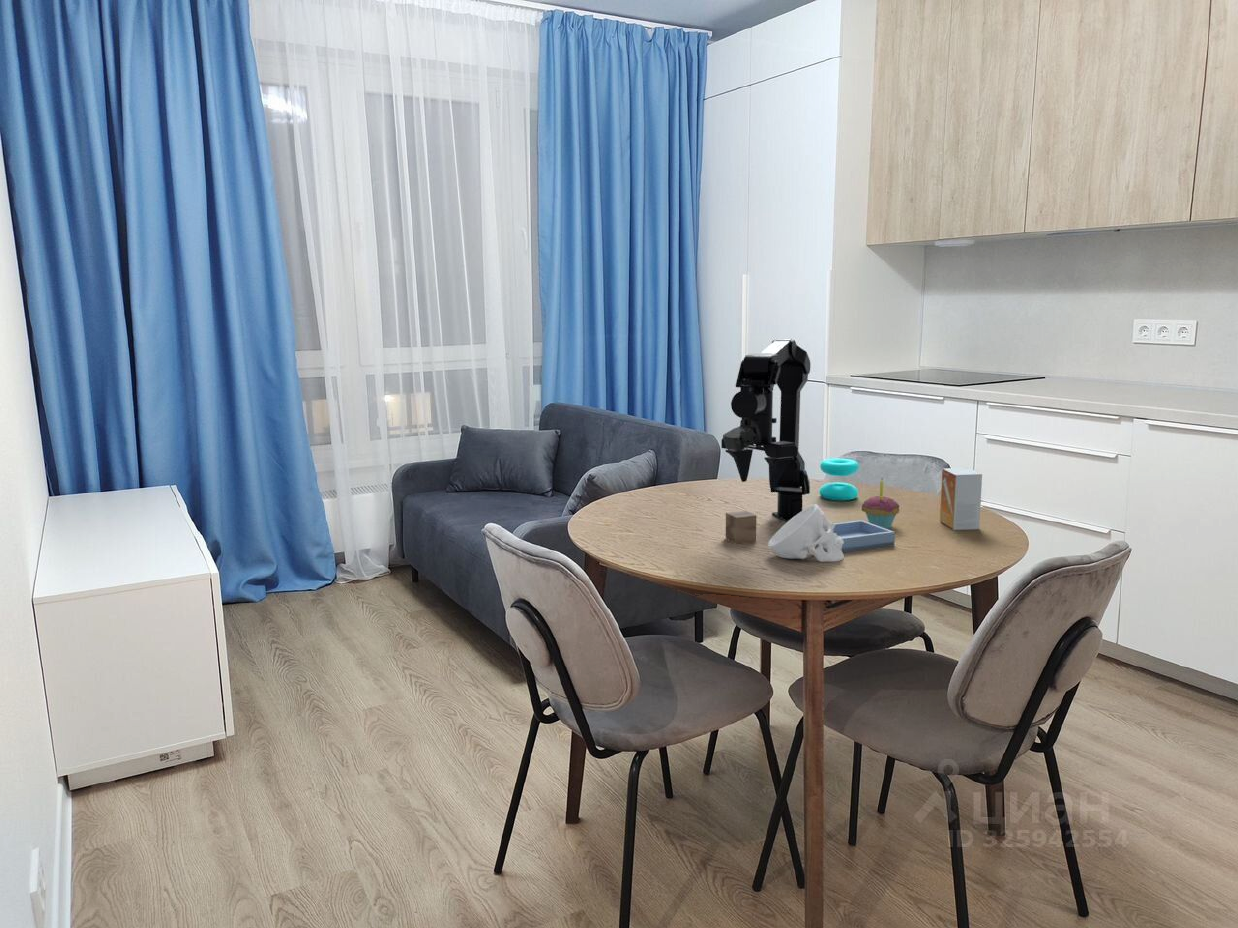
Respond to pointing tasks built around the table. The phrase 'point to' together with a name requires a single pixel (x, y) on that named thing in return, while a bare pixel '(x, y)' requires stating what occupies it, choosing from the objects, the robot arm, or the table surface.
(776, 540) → the skull bowl
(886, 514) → the cupcake
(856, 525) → the tray
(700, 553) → the table surface
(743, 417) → the robot arm
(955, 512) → the small box
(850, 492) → the donuts
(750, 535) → the block
